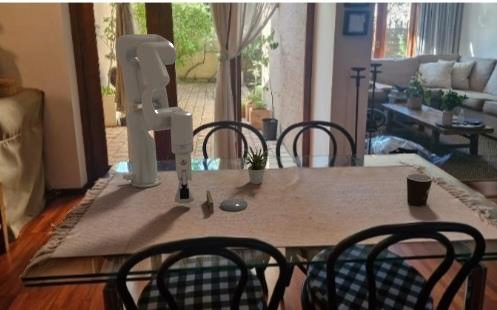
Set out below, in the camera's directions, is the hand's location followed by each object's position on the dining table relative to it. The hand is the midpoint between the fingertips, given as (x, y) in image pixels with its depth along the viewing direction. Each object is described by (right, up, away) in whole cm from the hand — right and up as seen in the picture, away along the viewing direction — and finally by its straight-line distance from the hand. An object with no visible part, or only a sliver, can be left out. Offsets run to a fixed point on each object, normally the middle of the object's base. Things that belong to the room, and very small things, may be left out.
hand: (184, 194), depth 153 cm
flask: (0, -2, +1) cm, 2 cm away
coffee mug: (+86, -3, +3) cm, 86 cm away
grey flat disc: (+18, -4, +2) cm, 18 cm away
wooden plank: (+9, -4, +1) cm, 10 cm away
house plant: (+25, +3, +26) cm, 36 cm away
